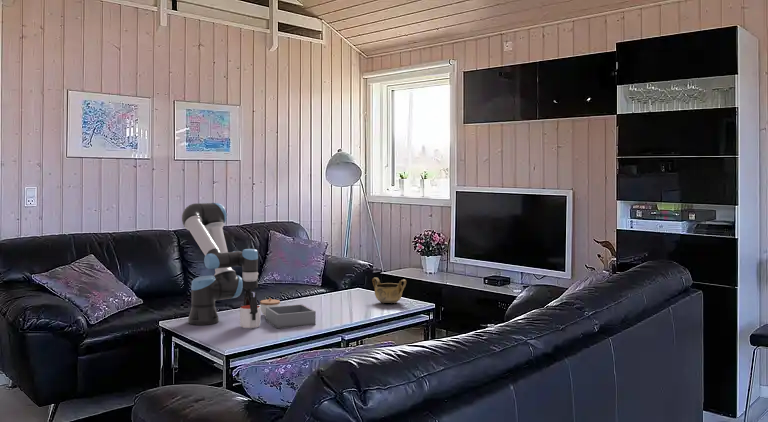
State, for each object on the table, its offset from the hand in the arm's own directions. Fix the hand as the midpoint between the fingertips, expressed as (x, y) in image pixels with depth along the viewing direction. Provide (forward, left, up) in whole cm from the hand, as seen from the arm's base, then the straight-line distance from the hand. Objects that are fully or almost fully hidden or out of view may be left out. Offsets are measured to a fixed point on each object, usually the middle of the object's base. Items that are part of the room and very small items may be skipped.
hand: (250, 324), depth 328 cm
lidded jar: (+17, +22, -2) cm, 28 cm away
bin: (+21, 0, -1) cm, 21 cm away
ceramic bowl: (+91, +25, -2) cm, 94 cm away
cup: (0, 0, -2) cm, 2 cm away
